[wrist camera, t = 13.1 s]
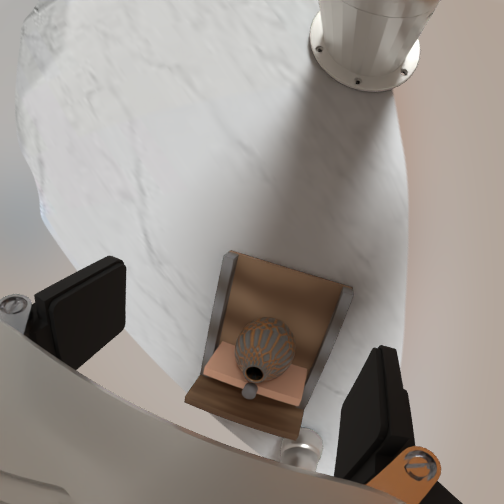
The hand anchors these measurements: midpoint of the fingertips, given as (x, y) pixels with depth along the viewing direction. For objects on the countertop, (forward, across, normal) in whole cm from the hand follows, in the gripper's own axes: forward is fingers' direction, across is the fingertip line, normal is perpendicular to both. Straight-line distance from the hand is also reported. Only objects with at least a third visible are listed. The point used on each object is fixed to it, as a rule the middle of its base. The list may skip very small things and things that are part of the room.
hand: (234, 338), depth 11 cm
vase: (+25, 0, +16) cm, 29 cm away
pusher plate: (+25, 0, +20) cm, 32 cm away
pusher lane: (+25, 0, +17) cm, 30 cm away
